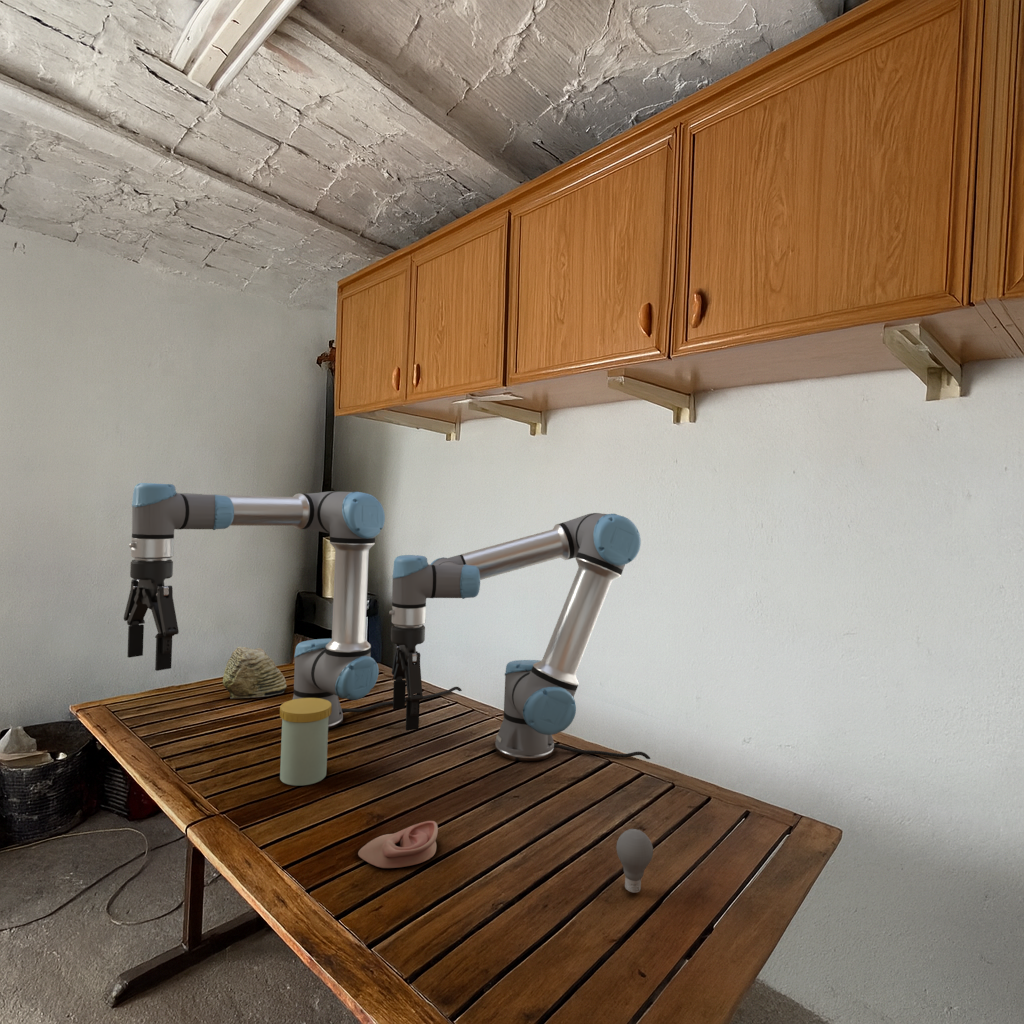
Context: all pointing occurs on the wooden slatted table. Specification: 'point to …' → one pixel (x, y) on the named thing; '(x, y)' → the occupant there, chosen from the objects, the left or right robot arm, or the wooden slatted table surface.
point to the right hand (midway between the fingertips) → (405, 718)
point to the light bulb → (634, 857)
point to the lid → (305, 710)
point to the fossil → (252, 674)
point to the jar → (304, 752)
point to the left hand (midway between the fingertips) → (148, 662)
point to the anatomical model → (402, 846)
